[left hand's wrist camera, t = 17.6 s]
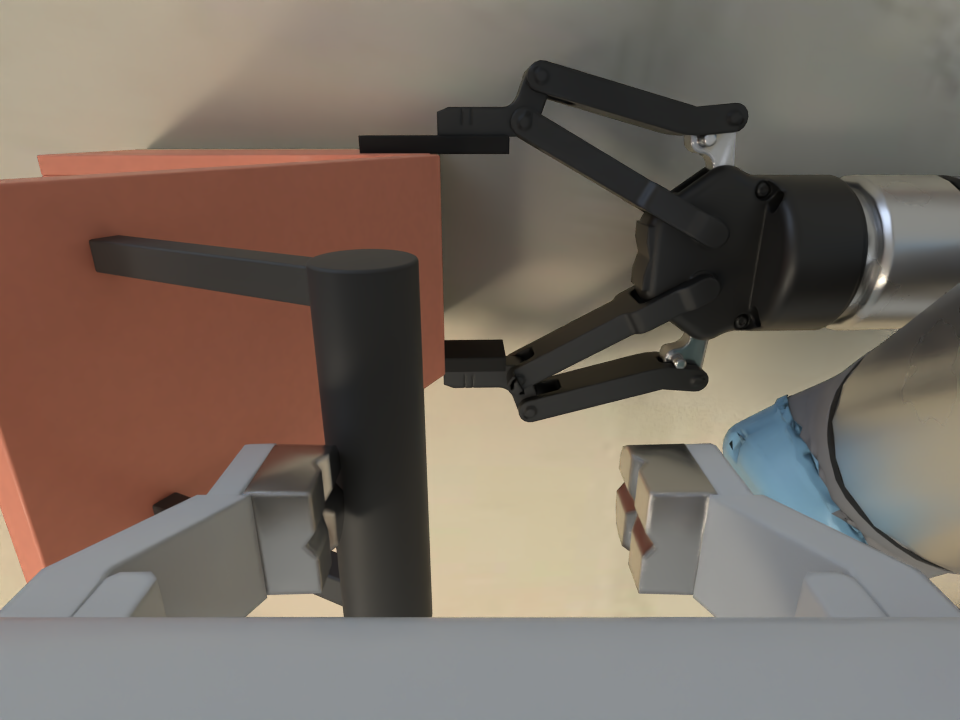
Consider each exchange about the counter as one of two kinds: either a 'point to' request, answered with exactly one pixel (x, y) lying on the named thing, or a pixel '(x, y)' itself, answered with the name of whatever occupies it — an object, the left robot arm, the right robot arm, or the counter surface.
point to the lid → (223, 351)
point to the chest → (186, 159)
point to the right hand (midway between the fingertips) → (371, 257)
